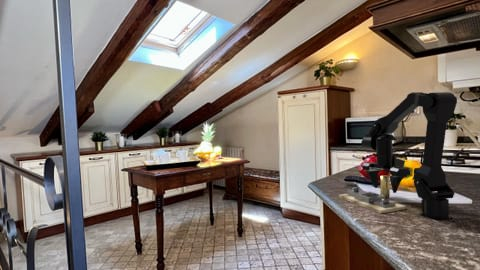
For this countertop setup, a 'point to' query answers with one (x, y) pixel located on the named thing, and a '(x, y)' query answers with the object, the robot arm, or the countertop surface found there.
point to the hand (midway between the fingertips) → (385, 190)
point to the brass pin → (385, 186)
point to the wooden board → (372, 206)
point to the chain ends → (370, 197)
